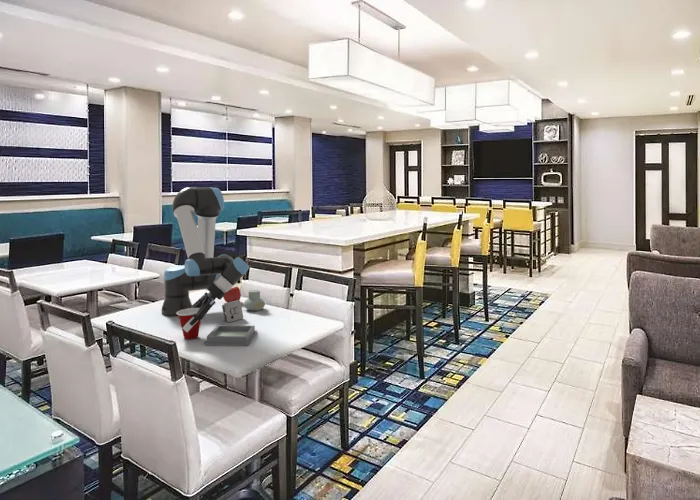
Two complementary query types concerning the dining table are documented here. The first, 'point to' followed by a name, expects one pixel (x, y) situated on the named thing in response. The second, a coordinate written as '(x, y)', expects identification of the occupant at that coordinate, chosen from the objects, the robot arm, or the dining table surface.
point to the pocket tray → (231, 335)
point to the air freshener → (254, 301)
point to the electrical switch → (232, 311)
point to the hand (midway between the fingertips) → (182, 326)
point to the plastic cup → (184, 318)
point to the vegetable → (232, 295)
